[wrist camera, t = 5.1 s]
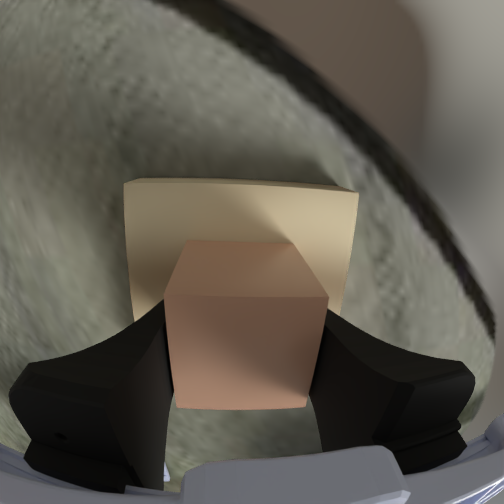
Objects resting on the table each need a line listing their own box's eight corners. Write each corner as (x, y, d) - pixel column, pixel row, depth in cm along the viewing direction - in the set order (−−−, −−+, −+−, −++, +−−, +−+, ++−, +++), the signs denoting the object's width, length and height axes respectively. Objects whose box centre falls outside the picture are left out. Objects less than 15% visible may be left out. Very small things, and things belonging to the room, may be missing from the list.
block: (283, 332, 14) (305, 407, 10) (190, 330, 14) (177, 407, 9) (293, 243, 13) (329, 296, 8) (187, 240, 12) (163, 293, 8)
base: (314, 349, 18) (325, 375, 15) (152, 347, 17) (143, 373, 15) (339, 186, 15) (359, 193, 12) (140, 177, 14) (123, 183, 11)
